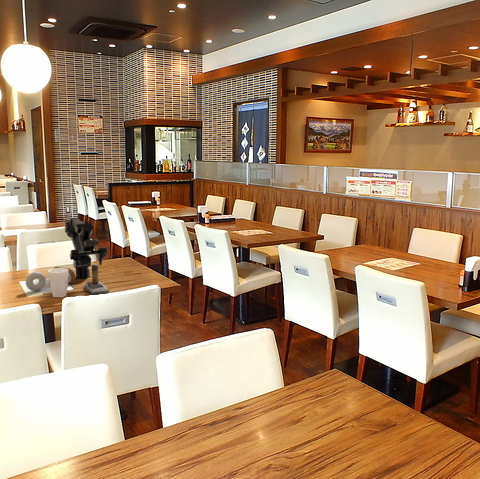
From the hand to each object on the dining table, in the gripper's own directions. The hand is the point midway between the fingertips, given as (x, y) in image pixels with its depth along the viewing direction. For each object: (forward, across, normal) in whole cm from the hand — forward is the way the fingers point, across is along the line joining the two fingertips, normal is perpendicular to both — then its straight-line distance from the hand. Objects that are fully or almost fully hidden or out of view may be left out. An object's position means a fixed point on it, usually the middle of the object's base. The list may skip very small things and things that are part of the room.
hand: (92, 266), depth 253 cm
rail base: (+13, 0, +3) cm, 13 cm away
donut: (+4, -27, +12) cm, 30 cm away
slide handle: (+11, 0, +3) cm, 11 cm away
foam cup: (+14, -18, +2) cm, 23 cm away
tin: (-3, -12, +19) cm, 23 cm away
